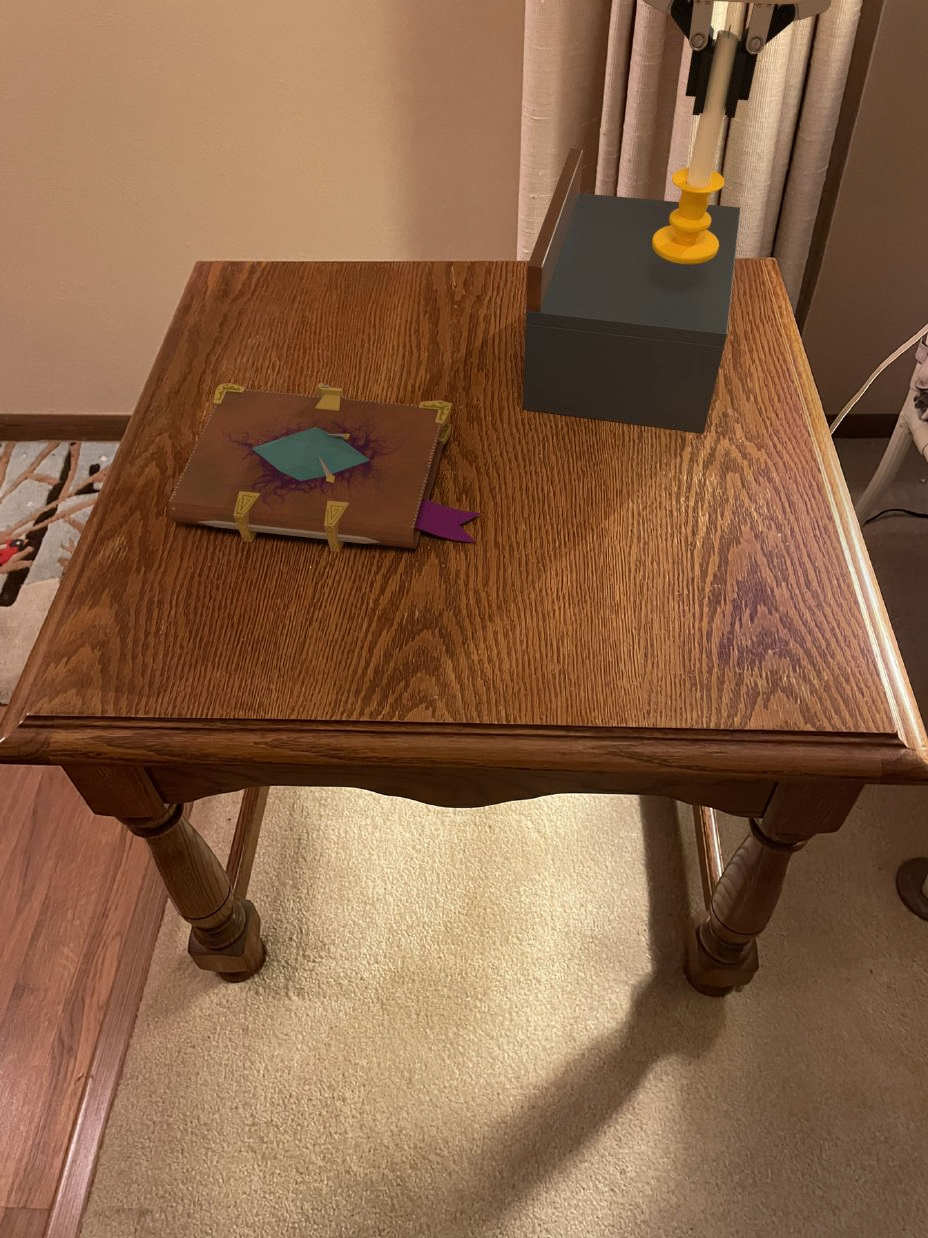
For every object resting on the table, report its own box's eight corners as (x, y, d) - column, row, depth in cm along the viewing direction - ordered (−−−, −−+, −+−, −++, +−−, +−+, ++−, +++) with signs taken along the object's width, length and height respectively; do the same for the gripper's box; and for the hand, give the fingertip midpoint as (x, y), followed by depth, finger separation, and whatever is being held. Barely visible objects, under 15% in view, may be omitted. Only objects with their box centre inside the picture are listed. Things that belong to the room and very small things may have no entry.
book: (472, 573, 69) (470, 531, 65) (172, 539, 72) (152, 497, 68) (502, 428, 78) (502, 383, 74) (236, 403, 81) (221, 359, 77)
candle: (710, 229, 72) (760, 8, 60) (724, 263, 69) (779, 38, 57) (646, 230, 72) (683, 9, 60) (657, 265, 69) (698, 39, 57)
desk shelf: (719, 304, 89) (750, 162, 78) (703, 433, 77) (738, 287, 66) (561, 287, 91) (570, 147, 80) (522, 409, 80) (527, 265, 69)
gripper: (626, -244, 47) (595, 123, 61) (939, -242, 44) (830, 141, 59) (643, -269, 51) (610, 79, 66) (928, -268, 49) (829, 93, 63)
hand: (714, 106), depth 62 cm, fingers closed on candle, 1 cm apart
